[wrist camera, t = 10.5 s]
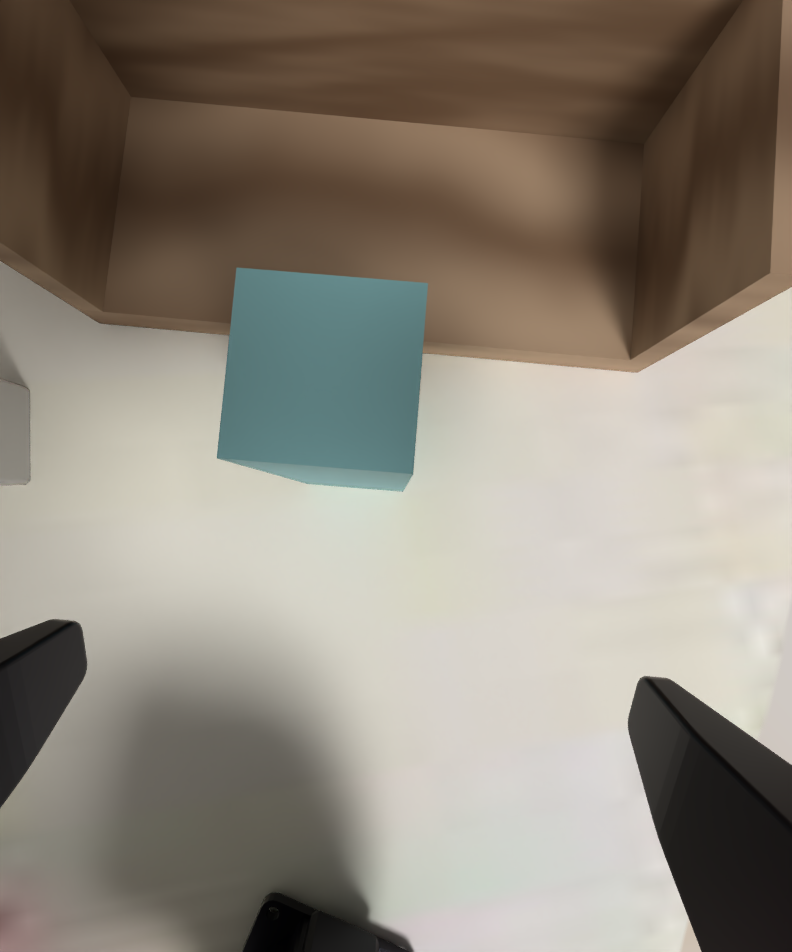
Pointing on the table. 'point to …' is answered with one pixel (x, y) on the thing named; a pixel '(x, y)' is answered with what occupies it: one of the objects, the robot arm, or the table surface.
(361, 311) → the pillar block
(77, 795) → the table surface
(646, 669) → the table surface
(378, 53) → the open box
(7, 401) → the lighter
